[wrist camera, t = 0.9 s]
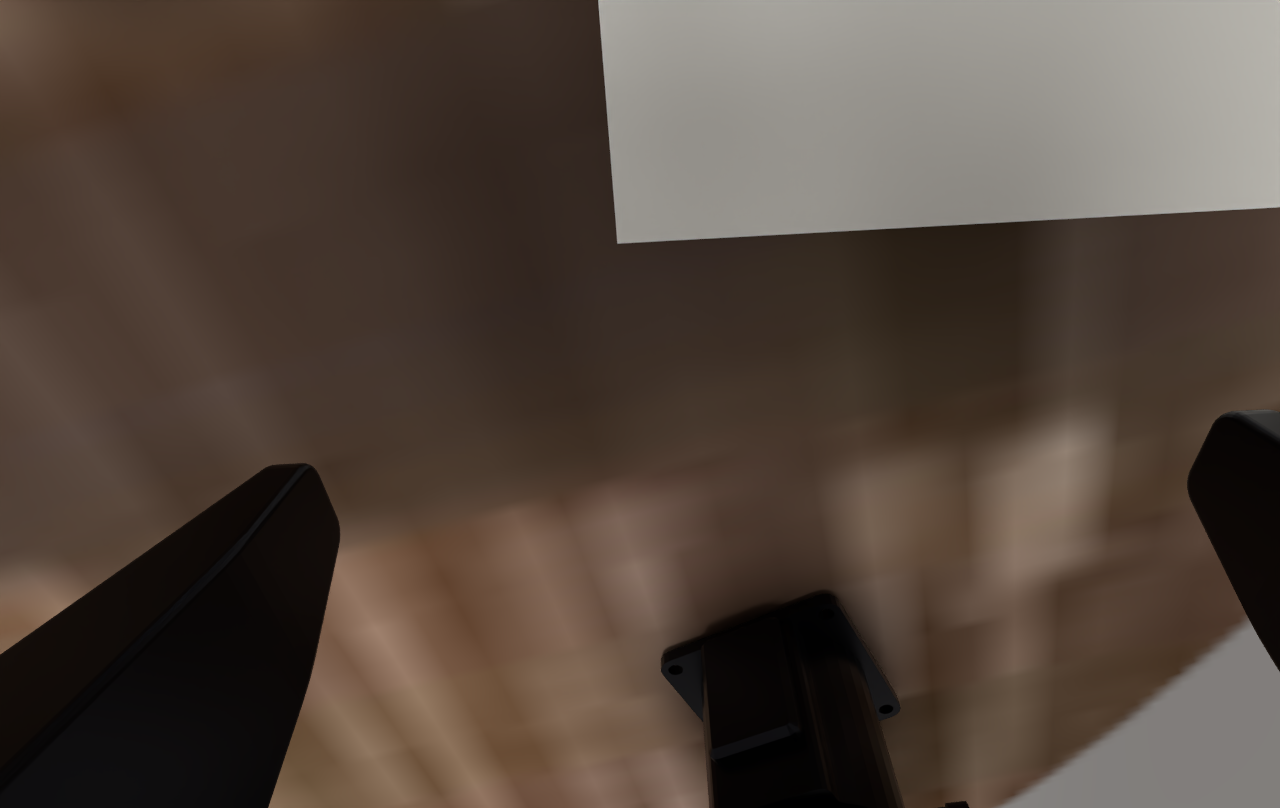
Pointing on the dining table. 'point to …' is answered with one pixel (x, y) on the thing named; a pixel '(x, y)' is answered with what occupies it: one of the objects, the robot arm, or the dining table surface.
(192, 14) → the dining table surface
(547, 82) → the dining table surface
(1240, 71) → the board
